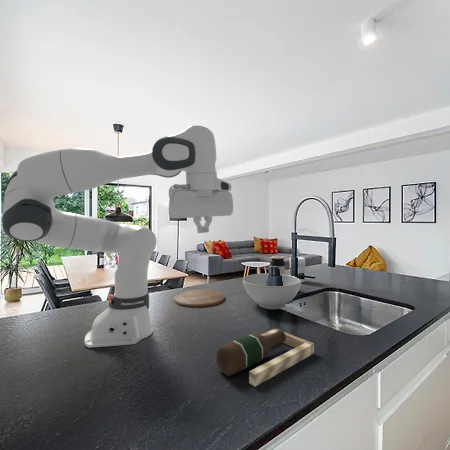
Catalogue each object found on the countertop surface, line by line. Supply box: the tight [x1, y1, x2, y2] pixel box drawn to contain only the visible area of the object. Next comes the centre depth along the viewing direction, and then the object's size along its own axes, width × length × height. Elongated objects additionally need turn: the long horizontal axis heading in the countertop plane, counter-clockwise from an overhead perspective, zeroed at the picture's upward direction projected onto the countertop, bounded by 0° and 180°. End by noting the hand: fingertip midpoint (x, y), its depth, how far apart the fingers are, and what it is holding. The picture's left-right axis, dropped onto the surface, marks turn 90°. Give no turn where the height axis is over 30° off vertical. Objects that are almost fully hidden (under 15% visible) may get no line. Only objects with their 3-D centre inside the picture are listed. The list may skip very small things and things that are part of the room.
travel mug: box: [270, 255, 286, 275], centre depth 161 cm, size 8×8×18 cm
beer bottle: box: [215, 329, 286, 377], centre depth 82 cm, size 8×8×24 cm
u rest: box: [248, 328, 315, 388], centre depth 83 cm, size 26×15×3 cm, turn 130°
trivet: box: [173, 289, 225, 308], centre depth 142 cm, size 25×25×2 cm
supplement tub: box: [289, 256, 307, 284], centre depth 177 cm, size 10×10×15 cm
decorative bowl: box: [242, 273, 302, 310], centre depth 131 cm, size 27×27×12 cm
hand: (203, 232), depth 82 cm, fingers closed
